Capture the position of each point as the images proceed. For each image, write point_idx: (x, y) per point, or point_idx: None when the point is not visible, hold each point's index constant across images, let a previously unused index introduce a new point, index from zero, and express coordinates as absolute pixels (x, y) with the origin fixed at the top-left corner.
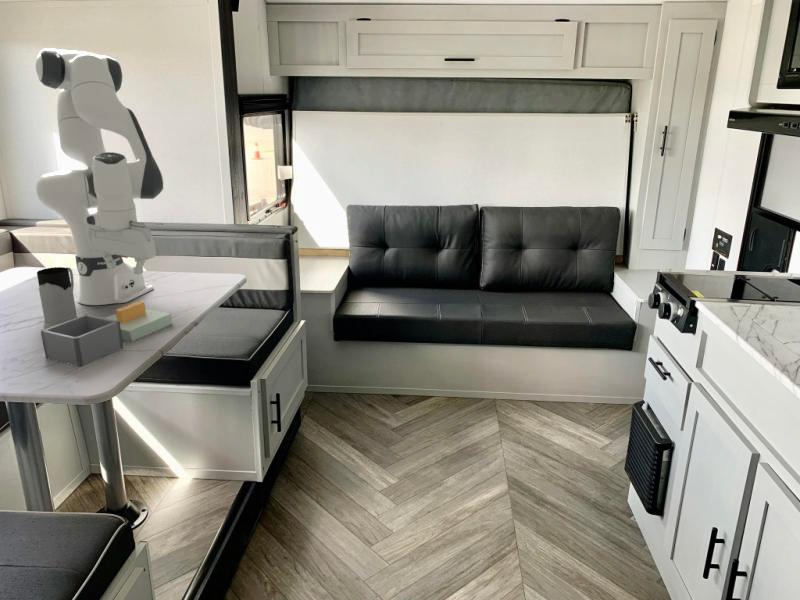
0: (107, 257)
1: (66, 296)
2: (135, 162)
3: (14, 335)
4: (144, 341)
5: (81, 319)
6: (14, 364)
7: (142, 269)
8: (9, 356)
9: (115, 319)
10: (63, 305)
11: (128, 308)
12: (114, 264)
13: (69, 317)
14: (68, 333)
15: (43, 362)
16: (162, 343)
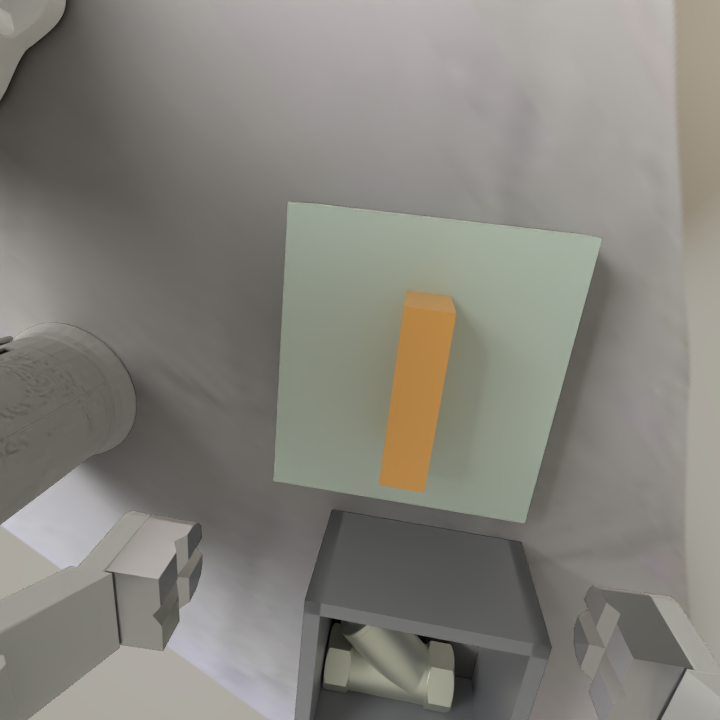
0: (42, 678)
1: (14, 480)
2: None
3: (41, 532)
4: (570, 469)
5: (319, 625)
6: (267, 700)
7: (693, 634)
8: (199, 662)
9: (345, 414)
10: (51, 474)
11: (432, 441)
12: (174, 560)
13: (103, 424)
14: (322, 646)
15: None
16: (671, 469)
